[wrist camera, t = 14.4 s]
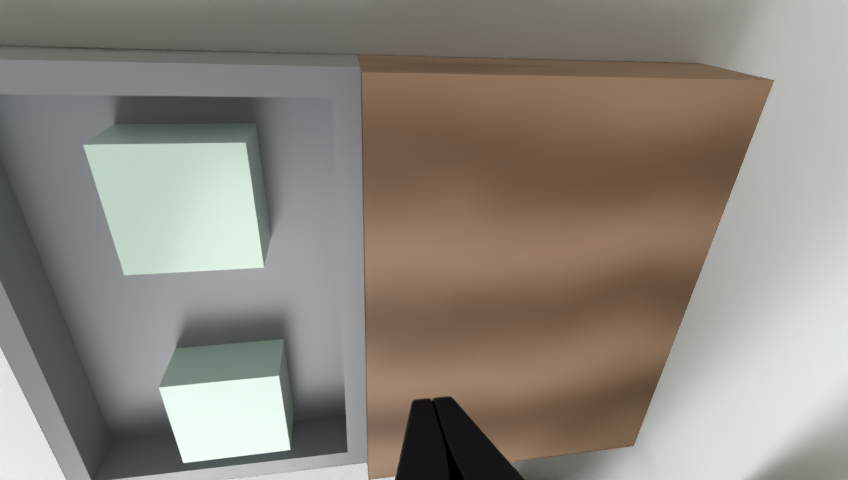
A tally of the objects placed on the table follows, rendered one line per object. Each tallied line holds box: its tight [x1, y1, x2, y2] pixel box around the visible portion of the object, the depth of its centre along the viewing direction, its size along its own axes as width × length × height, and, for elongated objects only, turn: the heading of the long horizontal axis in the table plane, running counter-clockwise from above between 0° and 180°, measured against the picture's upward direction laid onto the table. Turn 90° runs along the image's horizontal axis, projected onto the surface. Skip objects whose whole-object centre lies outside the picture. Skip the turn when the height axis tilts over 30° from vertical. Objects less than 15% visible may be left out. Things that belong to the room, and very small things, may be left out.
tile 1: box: [83, 123, 271, 275], centre depth 18 cm, size 5×5×2 cm
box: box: [0, 46, 367, 480], centre depth 20 cm, size 20×14×3 cm
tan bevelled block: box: [357, 55, 774, 480], centre depth 22 cm, size 20×15×4 cm
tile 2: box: [159, 339, 294, 463], centre depth 23 cm, size 5×5×2 cm
